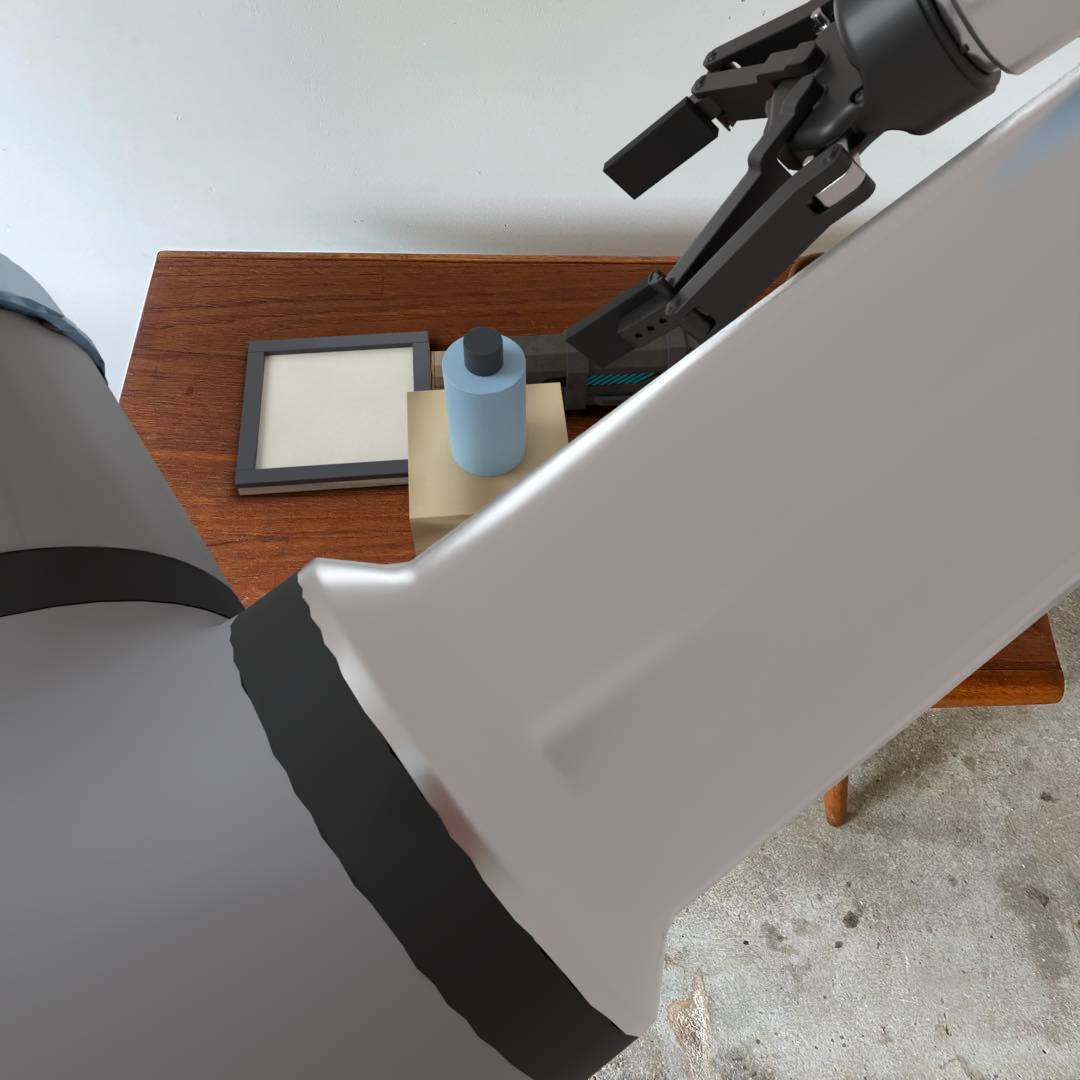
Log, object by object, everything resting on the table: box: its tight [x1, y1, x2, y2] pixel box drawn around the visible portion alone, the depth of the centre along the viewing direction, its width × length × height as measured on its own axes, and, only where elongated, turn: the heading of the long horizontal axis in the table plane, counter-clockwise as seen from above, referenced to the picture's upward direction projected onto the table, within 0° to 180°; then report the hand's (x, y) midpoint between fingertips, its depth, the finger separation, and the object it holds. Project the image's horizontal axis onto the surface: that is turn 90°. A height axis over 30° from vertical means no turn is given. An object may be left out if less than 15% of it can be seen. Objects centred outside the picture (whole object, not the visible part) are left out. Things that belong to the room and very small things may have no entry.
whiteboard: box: [234, 330, 432, 496], centre depth 93 cm, size 18×18×2 cm
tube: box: [430, 326, 701, 412], centre depth 93 cm, size 11×7×30 cm
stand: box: [407, 383, 570, 557], centre depth 78 cm, size 12×12×16 cm
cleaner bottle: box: [442, 326, 526, 477], centre depth 67 cm, size 6×6×11 cm
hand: (602, 260), depth 54 cm, fingers open, 13 cm apart
